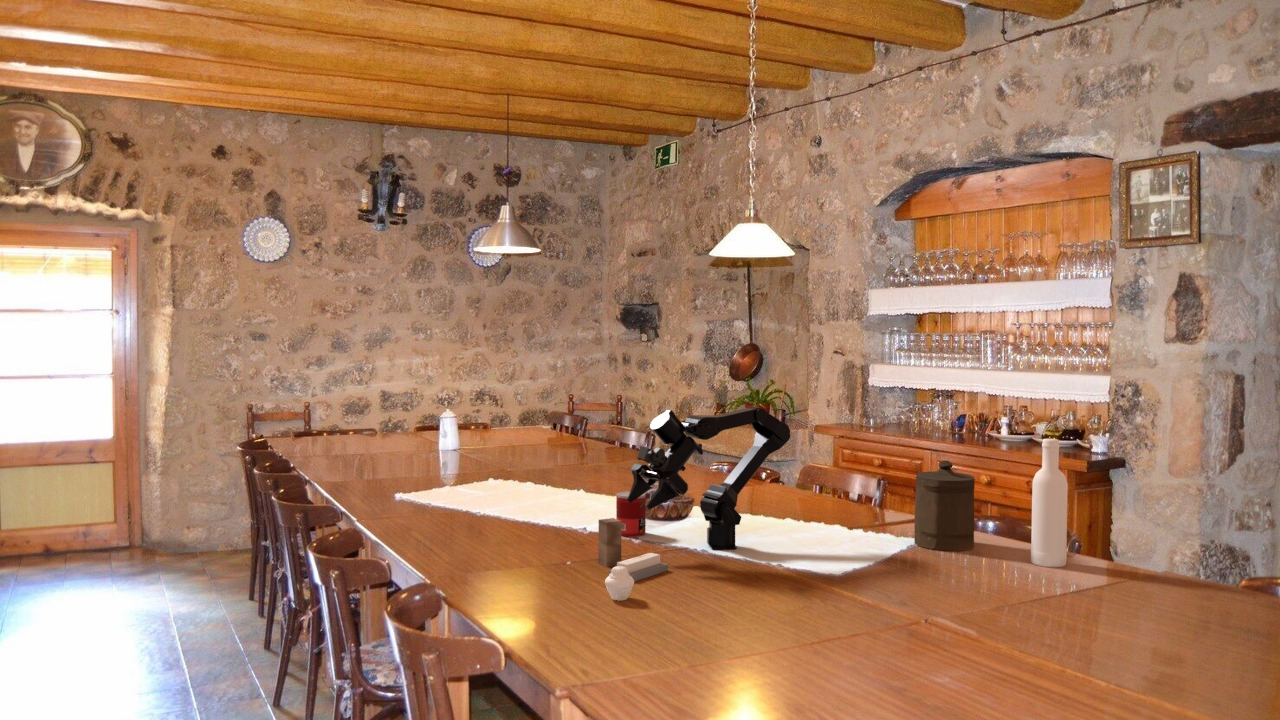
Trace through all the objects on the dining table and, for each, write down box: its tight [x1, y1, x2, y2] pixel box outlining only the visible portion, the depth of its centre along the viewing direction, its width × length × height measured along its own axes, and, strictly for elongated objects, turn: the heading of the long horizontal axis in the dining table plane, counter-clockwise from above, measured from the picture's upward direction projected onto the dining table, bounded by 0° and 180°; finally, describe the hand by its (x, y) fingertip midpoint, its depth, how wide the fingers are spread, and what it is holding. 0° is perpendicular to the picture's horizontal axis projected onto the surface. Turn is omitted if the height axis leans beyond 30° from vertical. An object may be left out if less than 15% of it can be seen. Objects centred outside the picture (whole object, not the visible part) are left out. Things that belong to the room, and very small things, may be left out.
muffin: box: [604, 565, 635, 602], centre depth 200 cm, size 6×6×7 cm
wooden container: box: [913, 459, 976, 552], centre depth 249 cm, size 15×15×22 cm
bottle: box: [1030, 438, 1069, 568], centre depth 229 cm, size 8×8×30 cm
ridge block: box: [608, 552, 669, 583], centre depth 220 cm, size 13×7×4 cm, turn 141°
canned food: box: [615, 490, 647, 538], centre depth 261 cm, size 8×8×11 cm
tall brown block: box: [598, 517, 622, 568], centre depth 229 cm, size 4×4×10 cm
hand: (637, 504), depth 232 cm, fingers open, 9 cm apart
